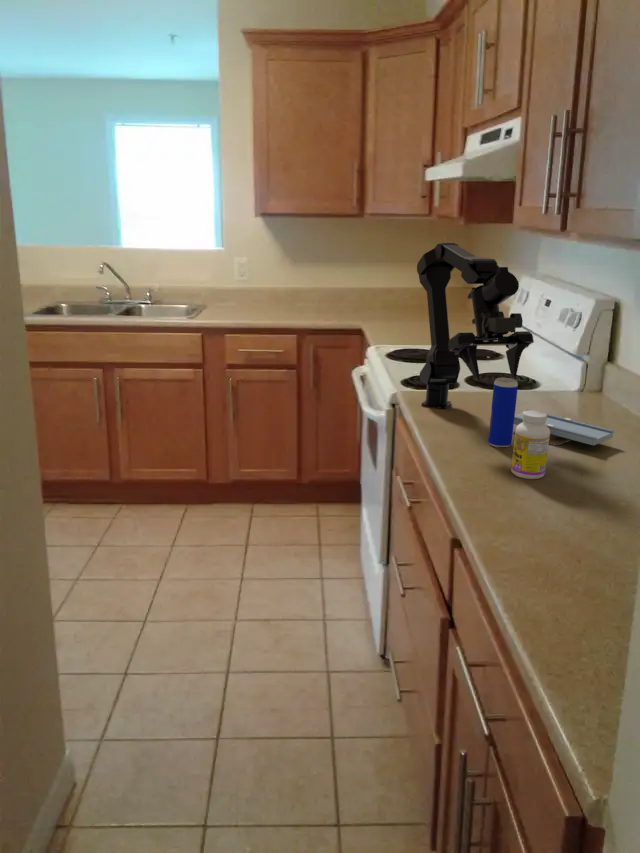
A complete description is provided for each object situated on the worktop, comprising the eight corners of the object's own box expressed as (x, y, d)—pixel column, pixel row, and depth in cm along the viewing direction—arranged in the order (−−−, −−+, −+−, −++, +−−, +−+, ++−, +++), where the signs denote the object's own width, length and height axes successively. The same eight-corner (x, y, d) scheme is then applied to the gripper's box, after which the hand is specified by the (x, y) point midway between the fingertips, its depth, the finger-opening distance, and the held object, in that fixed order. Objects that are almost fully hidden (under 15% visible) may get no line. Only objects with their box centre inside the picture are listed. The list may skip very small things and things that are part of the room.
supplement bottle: (507, 467, 154) (514, 408, 151) (539, 469, 154) (547, 409, 150) (514, 479, 148) (521, 417, 144) (548, 481, 148) (556, 418, 144)
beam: (506, 422, 179) (507, 414, 178) (527, 415, 185) (528, 408, 184) (593, 445, 164) (594, 437, 163) (612, 437, 170) (613, 429, 169)
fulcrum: (533, 439, 173) (534, 432, 173) (557, 430, 180) (558, 423, 180) (557, 445, 169) (557, 438, 169) (580, 436, 176) (581, 429, 176)
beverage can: (494, 439, 172) (500, 376, 168) (515, 444, 169) (522, 380, 165) (483, 444, 168) (490, 380, 164) (504, 450, 165) (512, 384, 161)
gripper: (464, 299, 160) (474, 370, 158) (541, 299, 165) (552, 367, 163) (443, 316, 171) (452, 382, 168) (516, 315, 176) (525, 379, 173)
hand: (495, 378), depth 168 cm, fingers open, 9 cm apart
